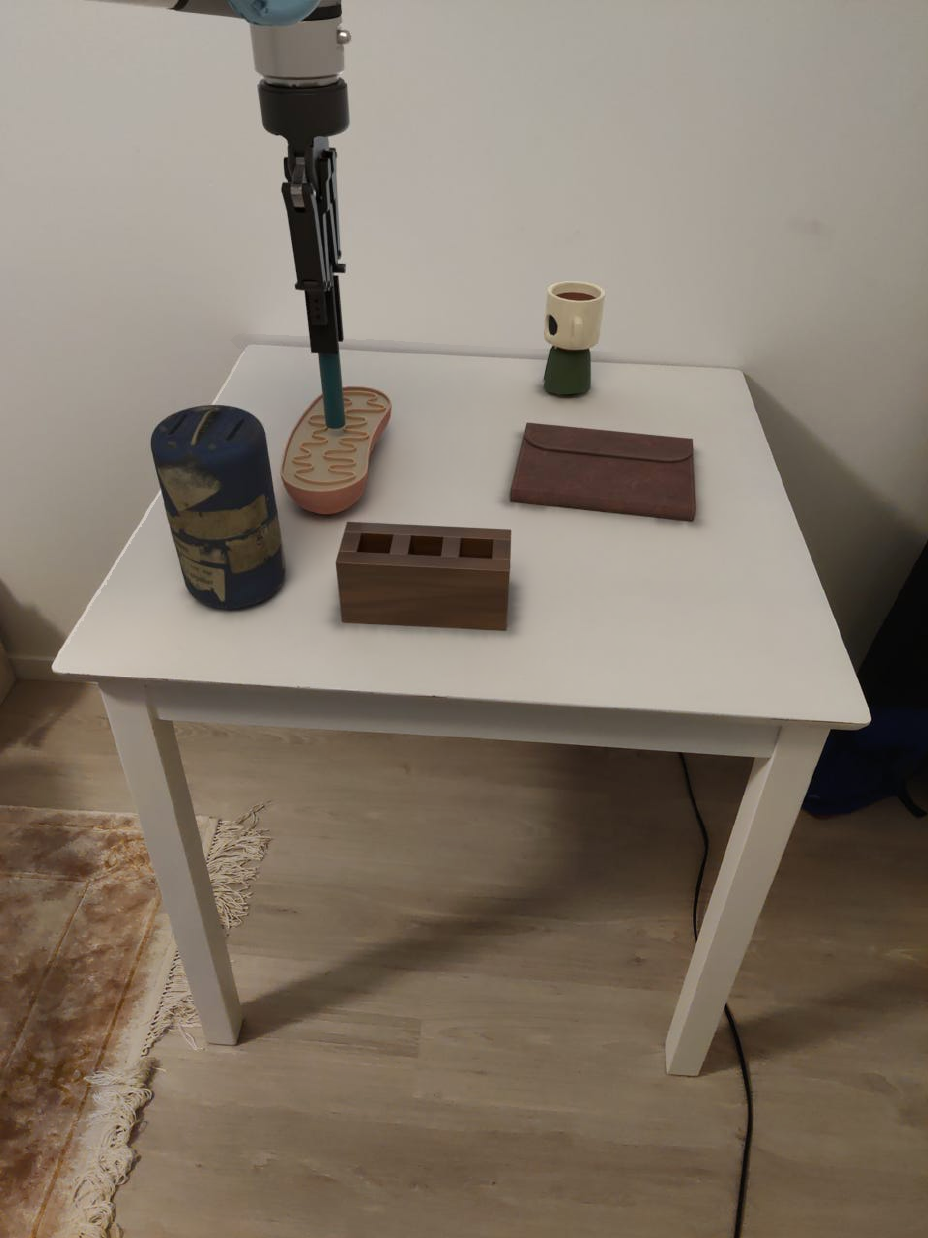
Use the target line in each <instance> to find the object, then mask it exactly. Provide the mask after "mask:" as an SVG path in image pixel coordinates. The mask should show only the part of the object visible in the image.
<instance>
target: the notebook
mask: <svg viewBox="0 0 928 1238" xmlns="http://www.w3.org/2000/svg"><path fill="white" fill-rule="evenodd" d="M516 461H517V462H516V466H515V469H514V474H513V478H512V482H511V486H510V491H509V493H510V494H509V501H510V502H516V503H525V504H535V505H543V506H551V507H552V506H553V507H560V508H570V509H578V510H587V511H595V512H596V511H598V512H606V513H613V514H623V515H633V516H640V517H650V518H660V519H669V520H678V521H688V522H694V521H695V518H696V512H697V504H696V503H697V502H696V483H695V482H696V481H695V463H694V439H693V438H687V437H679V436H678V437H677V436H668V435H667V436H666V435H656V434H646V433H639V432H638V433H636V432H627V431H617V430H605V429H598V428H597V429H596V428H586V427H576V426H566V425H559V424H558V425H557V424H547V423H537V422H526V423H525V427H524V431H523V438H522V441H521V445H520V449H519V453H518V458H517V460H516Z"/></svg>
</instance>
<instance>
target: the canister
mask: <svg viewBox="0 0 928 1238" xmlns="http://www.w3.org/2000/svg"><path fill="white" fill-rule="evenodd" d="M261 422H262V421H260V419H259V418H258V417H256V415H254V414H252V413H251V412H250V411H247V410H246V409H243V408H240V407H236V406H231V405H224V404H204V405H198V406H193V407H188V408H184V409H182V410H178V411H176V412H174V413H172V414H170V415H168V416H167V417H165V418H164V419H162V420H161V421H160V422H159V423H158V424H157V425H156V426H155V428H154V429H153V431H152V433H151V436H150V443H149V445H150V451H151V454H152V460H153V464H154V468H155V472H156V476H157V480H158V484H159V488H160V493H161V496H162V499H163V506H164V510H165V514H166V518H167V522H168V525H169V528H170V534H171V537H172V542H173V544H174V548H175V551H176V554H177V558H178V562H179V567H180V570H181V574H182V579H183V582H184V584H185V585H184V586H185V587H186V589H187V591H188V593H189V594H190V595H191V596H192V597H193V598H194V599H196V600H197V601H199V602H200V603H202V604H204V605H205V606H209V607H212V608H217V609H229V610H230V609H239V608H245V607H249V606H252V605H256V604H258V603H261V602H263V601H264V600H266V599H267V598H269V597H270V596H272V595H273V594H274V593H275V592H276V591H277V590H278V589H279V588H280V587H281V586H282V584H283V581H284V580H285V576H286V559H285V551H284V546H283V538H282V531H281V524H280V520H279V519H280V518H279V511H278V506H277V501H276V495H275V489H274V482H273V473H272V468H271V462H270V455H269V454H270V453H269V448H268V442H267V441H268V440H267V435H266V431H265V429H264V426H263V424H262V423H261Z"/></svg>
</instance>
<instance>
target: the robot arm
mask: <svg viewBox="0 0 928 1238" xmlns="http://www.w3.org/2000/svg"><path fill="white" fill-rule="evenodd" d="M85 1H86V2H97V3H105V4H115V5H124V6H133V7H134V6H135V7H144V8H152V9H153V8H154V9H162V10H170V11H175V12H181V13H189V14H197V15H206V16H216V17H217V16H218V17H227V18H233V19H240V20H244V21H245V22H246V23H248V24H249V33H250V40H251V41H250V42H251V50H252V57H253V66H254V67H253V68H254V70H255V72H256V73H257V74H258V75H259V76H261V77H262V79H260V80H259V83H258V84H257V93H258V95H257V96H258V102H259V103H258V104H259V109H260V118H261V124H262V127H263V129H264V130H265V131H266V132H267V133H269V134H271V135H273V136H276V137H277V136H278V137H279V136H280V137H282V138H283V139H285V140H286V142H287V143H286V144H287V147H286V148H287V156H284V157H283V172H284V173H283V174H284V178H285V179H286V181H283V182H282V183H281V187H280V191H281V195H282V199H283V202H284V206H285V209H286V215H287V221H288V223H287V224H288V230H289V236H290V242H291V249H292V255H293V262H294V263H293V264H294V269H295V276H296V282H295V283H294V289H295V290H296V291H304V292H303V293H304V300H305V301H304V302H305V309H306V310H305V311H306V318H307V327H308V336H309V346H310V353H311V354H318V353H326V354H338V352H340V343H343V342H344V339H345V336H344V325H343V314H342V302H341V289H340V278H339V277H340V276H339V275H337V274H346V273H347V263H339V260H340V261H341V258H342V255H343V253H342V252H343V251H342V249H341V231H340V215H339V214H340V213H339V212H340V211H339V196H338V180H337V179H338V178H337V158H338V151H337V148H336V147H333V146H331V147H330V140H329V137H334V136H337V135H340V134H342V133H344V132H345V131H347V130H348V128H349V126H350V125H351V120H350V119H351V118H350V105H349V89H348V83H347V82H346V81H345V79H344V78H343V77H340V76H341V74H343V73H344V72H345V70H346V56H345V55H346V54H345V46H344V45H349V44H351V42H352V35H351V33H350V31H349V30H347V29H342V25H343V16H342V14H343V10H342V9H343V7H342V0H85ZM329 263H330V264H331V265H332V272H333V283H334V287H333V286H331V282H330V274H329ZM334 295H335V299H334ZM335 307H336V310H335ZM336 318H337V321H336ZM337 329H338V333H337ZM338 341H339V344H338Z"/></svg>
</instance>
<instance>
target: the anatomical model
mask: <svg viewBox="0 0 928 1238" xmlns="http://www.w3.org/2000/svg"><path fill="white" fill-rule="evenodd" d="M342 387H343V398H344V410H345V421H346V424H345V426H344V427H342V428H339V429H331V428H328V427H327V426H326V425H325V415H324V406H323V396H322V393H320V394H319V395H318V396H317V397H316V398H314V399H313V401H312V402H311V403H310V404H309V406H307V408H306V409H305V410H304V411H303V412H302V414H301V415H300V417H299V418H298V420H297V421H296V422H295V424H294V425H293V428H292V429H291V431H290V433H289V435H288V438H287V440H286V444H285V446H284V449H283V454H282V458H281V463H280V468H279V472H280V473H279V474H280V477H281V481H282V483H283V488H284V489H285V491H286V492H287V494H288V496H289V497H290V498H291V500H292V501H293V502H294V503H296V504H297V505H298V506H299V507H301V508H303V509H305V510H307V511H308V512H312V513H315V514H321V515H332V514H337V513H340V512H343V511H345V510H347V509H348V508H350V507H352V506H353V505H354V504H356V502H357V501H358V500H359V499H360V497H362V495H363V493H364V491H365V489H366V487H367V482H368V475H369V464H370V458H371V455H372V452H373V449H374V447H375V444H376V443H377V442H378V440H379V439H380V437H381V436H382V434H383V433H384V431H385V430H386V428H387V426H388V425H389V422H390V419H391V416H392V400H391V398H390V397H389V396H388V394H386V393H385V392H383V391H381V390H378V389H376V388H373V387H369V386H363V385H346V386H342Z"/></svg>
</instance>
